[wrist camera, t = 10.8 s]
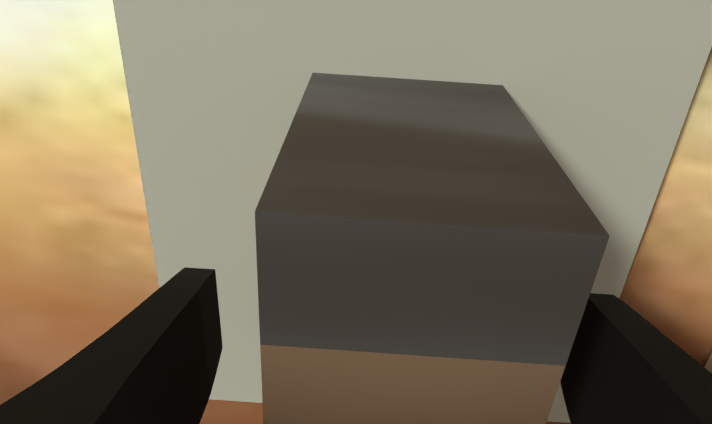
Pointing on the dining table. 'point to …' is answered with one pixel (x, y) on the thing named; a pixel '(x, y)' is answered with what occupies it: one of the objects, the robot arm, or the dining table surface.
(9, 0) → the dining table surface
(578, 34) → the mat
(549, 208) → the block
